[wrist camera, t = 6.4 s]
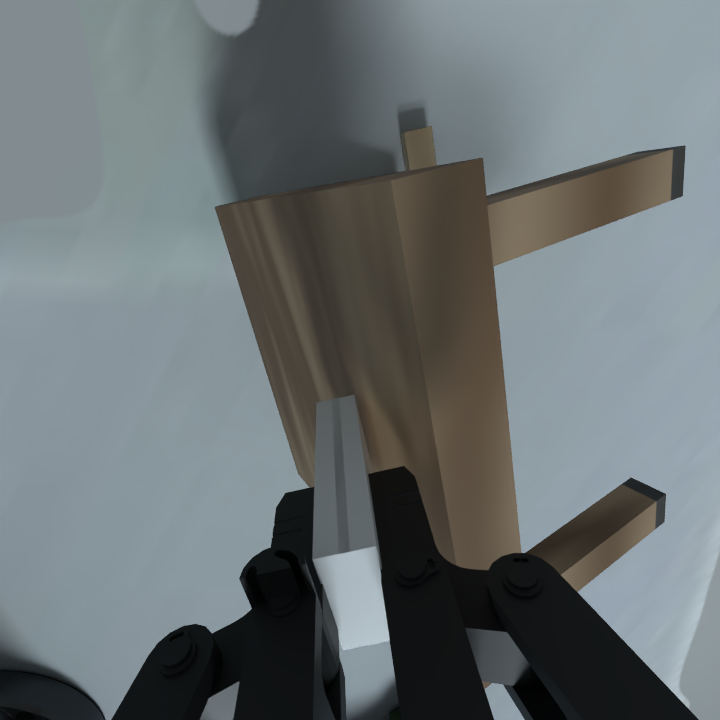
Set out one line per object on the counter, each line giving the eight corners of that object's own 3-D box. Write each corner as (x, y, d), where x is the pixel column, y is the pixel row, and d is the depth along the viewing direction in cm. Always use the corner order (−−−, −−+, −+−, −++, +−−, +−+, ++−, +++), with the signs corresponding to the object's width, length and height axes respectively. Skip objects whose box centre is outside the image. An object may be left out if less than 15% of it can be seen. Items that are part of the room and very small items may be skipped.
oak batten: (445, 423, 33) (450, 431, 32) (400, 133, 26) (404, 132, 25) (466, 418, 33) (471, 426, 32) (426, 128, 26) (431, 126, 25)
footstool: (298, 473, 29) (478, 694, 15) (214, 206, 23) (390, 180, 9) (427, 409, 33) (663, 540, 19) (385, 166, 26) (687, 106, 13)
